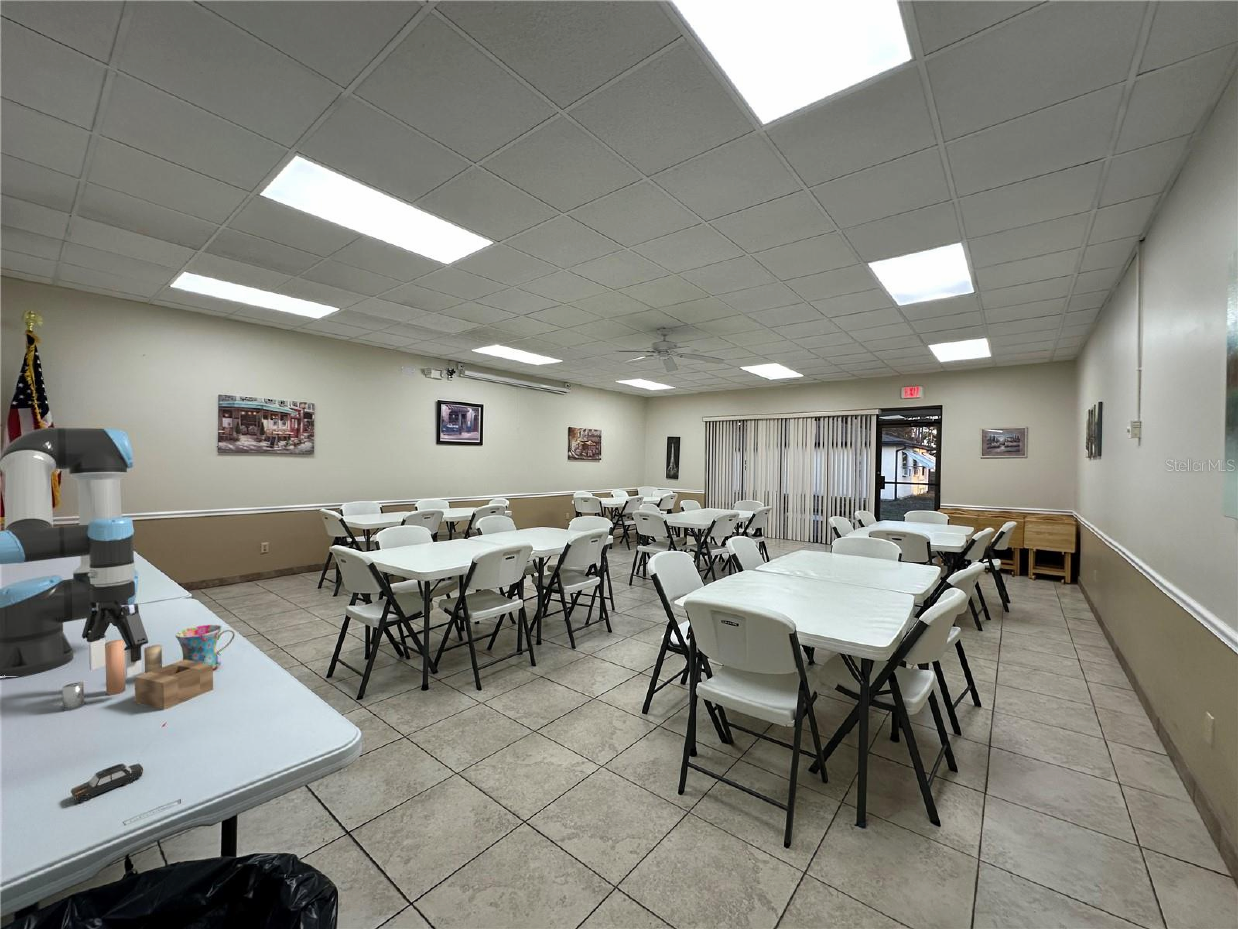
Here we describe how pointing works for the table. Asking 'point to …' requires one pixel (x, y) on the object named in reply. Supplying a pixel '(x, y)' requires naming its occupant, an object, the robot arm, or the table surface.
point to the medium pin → (153, 657)
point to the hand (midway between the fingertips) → (115, 671)
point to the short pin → (73, 696)
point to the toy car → (107, 780)
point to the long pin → (115, 667)
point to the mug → (202, 644)
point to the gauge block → (173, 684)
